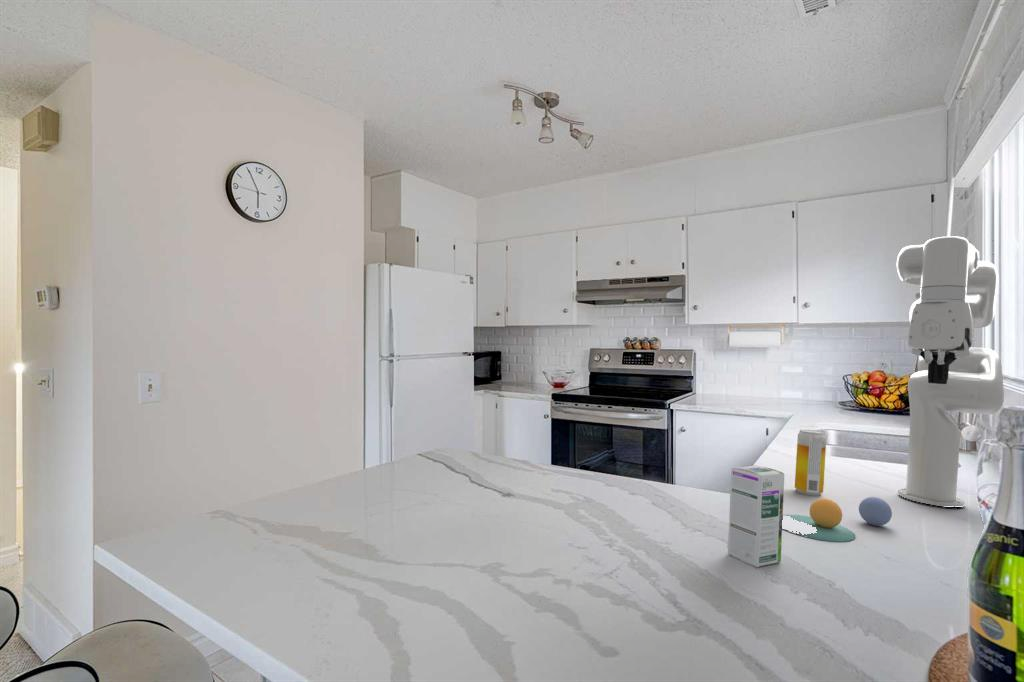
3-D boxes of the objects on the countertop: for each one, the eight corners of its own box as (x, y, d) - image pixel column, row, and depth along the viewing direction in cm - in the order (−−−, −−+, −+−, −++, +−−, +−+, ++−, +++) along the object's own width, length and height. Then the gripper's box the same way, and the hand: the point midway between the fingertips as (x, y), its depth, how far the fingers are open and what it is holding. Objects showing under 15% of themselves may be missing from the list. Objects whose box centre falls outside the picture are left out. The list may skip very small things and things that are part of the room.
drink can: (815, 490, 131) (819, 430, 131) (827, 497, 125) (831, 434, 125) (790, 488, 131) (793, 428, 131) (801, 495, 125) (804, 432, 125)
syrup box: (757, 568, 81) (762, 474, 81) (725, 553, 86) (731, 465, 86) (781, 563, 83) (786, 472, 83) (749, 549, 89) (754, 463, 89)
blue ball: (860, 491, 110) (853, 517, 109) (865, 493, 105) (858, 520, 104) (891, 502, 107) (884, 528, 107) (898, 504, 102) (890, 532, 102)
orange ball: (816, 495, 107) (802, 518, 106) (821, 490, 102) (806, 513, 101) (844, 512, 104) (830, 535, 103) (850, 507, 99) (836, 532, 98)
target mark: (773, 511, 111) (773, 510, 111) (851, 525, 104) (851, 524, 104) (770, 530, 99) (770, 529, 99) (859, 548, 92) (859, 547, 92)
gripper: (894, 297, 117) (889, 379, 117) (969, 292, 102) (964, 386, 102) (919, 300, 119) (914, 381, 119) (996, 296, 104) (990, 387, 104)
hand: (937, 383), depth 110 cm, fingers closed
